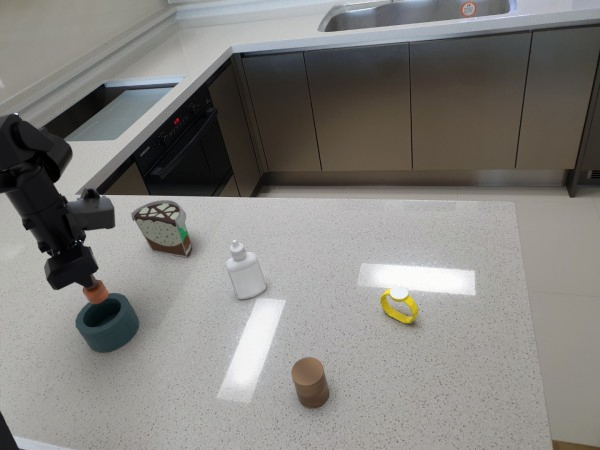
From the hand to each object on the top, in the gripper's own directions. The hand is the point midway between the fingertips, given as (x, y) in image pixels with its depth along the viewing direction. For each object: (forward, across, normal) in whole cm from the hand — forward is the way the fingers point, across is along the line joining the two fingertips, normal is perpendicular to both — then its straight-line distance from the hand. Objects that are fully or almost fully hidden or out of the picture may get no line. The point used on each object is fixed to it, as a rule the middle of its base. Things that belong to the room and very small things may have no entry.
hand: (89, 282), depth 73 cm
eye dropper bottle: (+13, -7, -23) cm, 27 cm away
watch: (+13, -28, -39) cm, 50 cm away
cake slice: (+13, +17, -17) cm, 27 cm away
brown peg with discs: (+4, 0, 0) cm, 4 cm away
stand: (+13, -31, -21) cm, 39 cm away
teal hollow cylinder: (+13, +1, +1) cm, 13 cm away
